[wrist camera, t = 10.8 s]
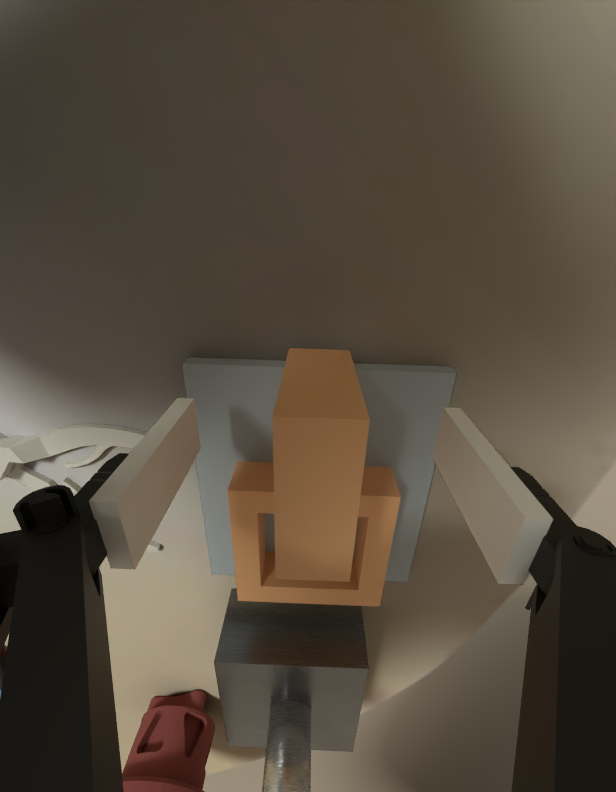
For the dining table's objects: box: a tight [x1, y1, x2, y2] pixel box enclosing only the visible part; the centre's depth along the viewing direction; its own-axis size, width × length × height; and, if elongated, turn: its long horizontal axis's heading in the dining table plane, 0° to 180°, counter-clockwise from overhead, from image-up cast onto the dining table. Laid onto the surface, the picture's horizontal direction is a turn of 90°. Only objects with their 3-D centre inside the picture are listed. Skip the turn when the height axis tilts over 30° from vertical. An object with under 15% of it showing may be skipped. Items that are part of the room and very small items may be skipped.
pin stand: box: [214, 589, 369, 792], centre depth 23 cm, size 12×10×13 cm
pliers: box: [0, 424, 161, 552], centre depth 21 cm, size 10×2×15 cm
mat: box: [182, 357, 457, 582], centre depth 21 cm, size 16×14×1 cm
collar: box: [227, 348, 401, 607], centre depth 17 cm, size 16×9×7 cm, turn 178°
